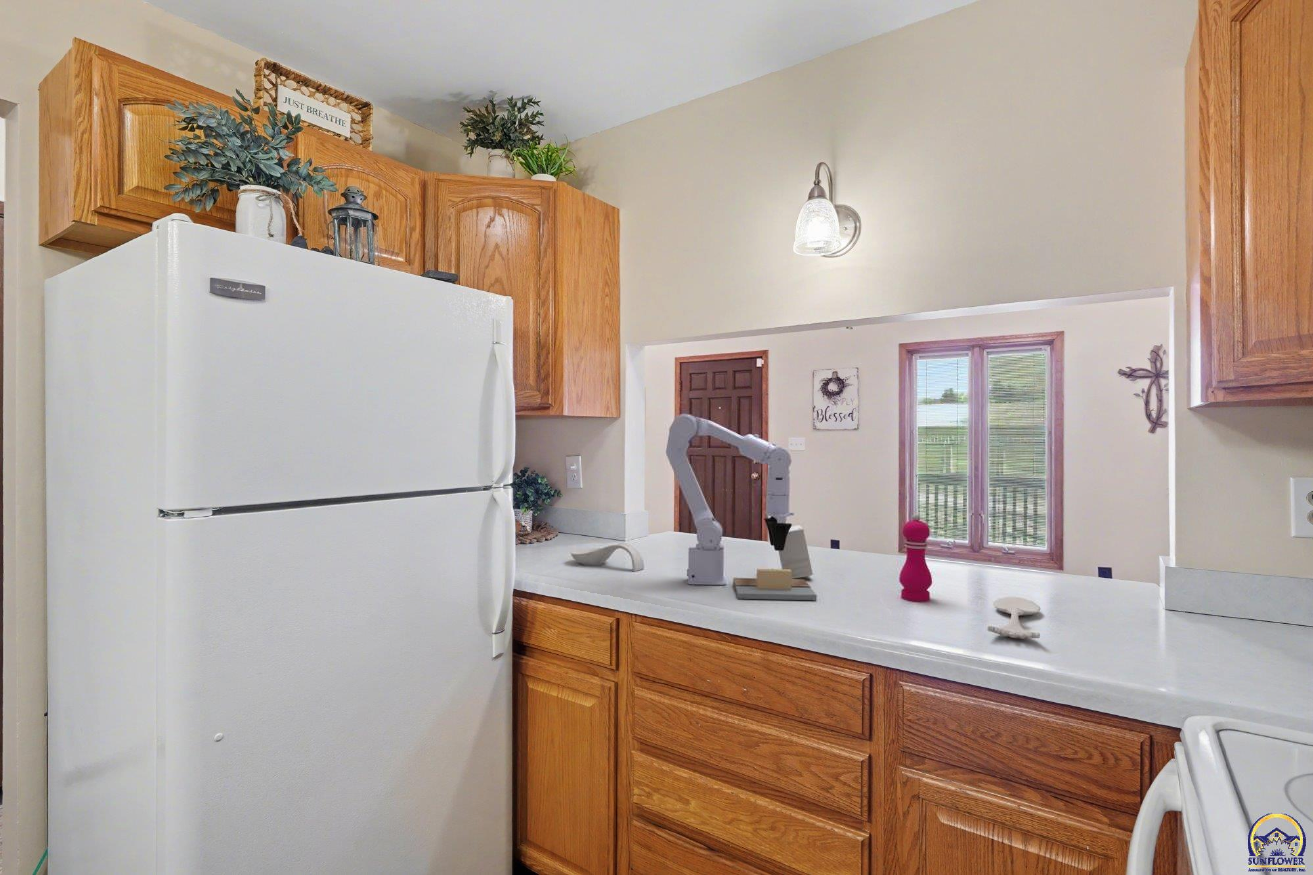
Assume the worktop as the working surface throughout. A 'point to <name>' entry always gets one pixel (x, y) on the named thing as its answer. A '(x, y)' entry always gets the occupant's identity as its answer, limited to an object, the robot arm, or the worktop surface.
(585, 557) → the spoon rest
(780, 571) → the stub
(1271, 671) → the worktop surface
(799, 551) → the supplement box
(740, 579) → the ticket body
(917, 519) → the pepper mill
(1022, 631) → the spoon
